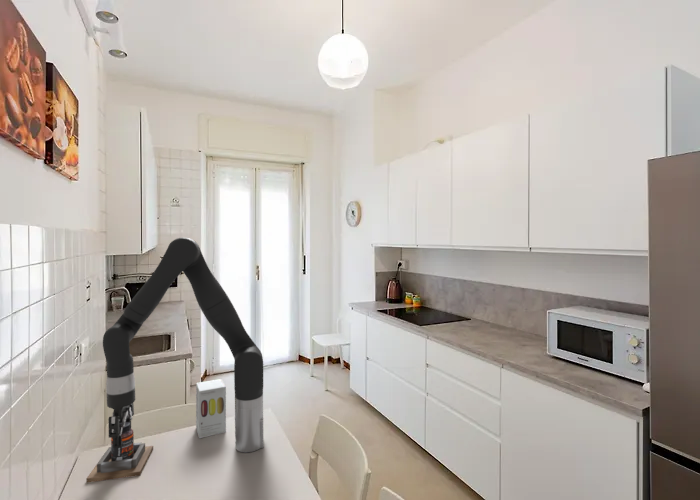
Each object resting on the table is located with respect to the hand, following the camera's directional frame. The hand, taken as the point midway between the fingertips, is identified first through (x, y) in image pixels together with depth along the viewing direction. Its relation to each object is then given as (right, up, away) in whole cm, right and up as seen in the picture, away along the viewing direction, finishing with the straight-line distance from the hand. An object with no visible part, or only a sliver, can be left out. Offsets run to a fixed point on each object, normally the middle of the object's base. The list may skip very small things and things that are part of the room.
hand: (122, 440), depth 115 cm
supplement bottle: (0, -7, 0) cm, 7 cm away
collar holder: (0, -8, 0) cm, 8 cm away
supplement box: (+19, -7, +21) cm, 30 cm away
